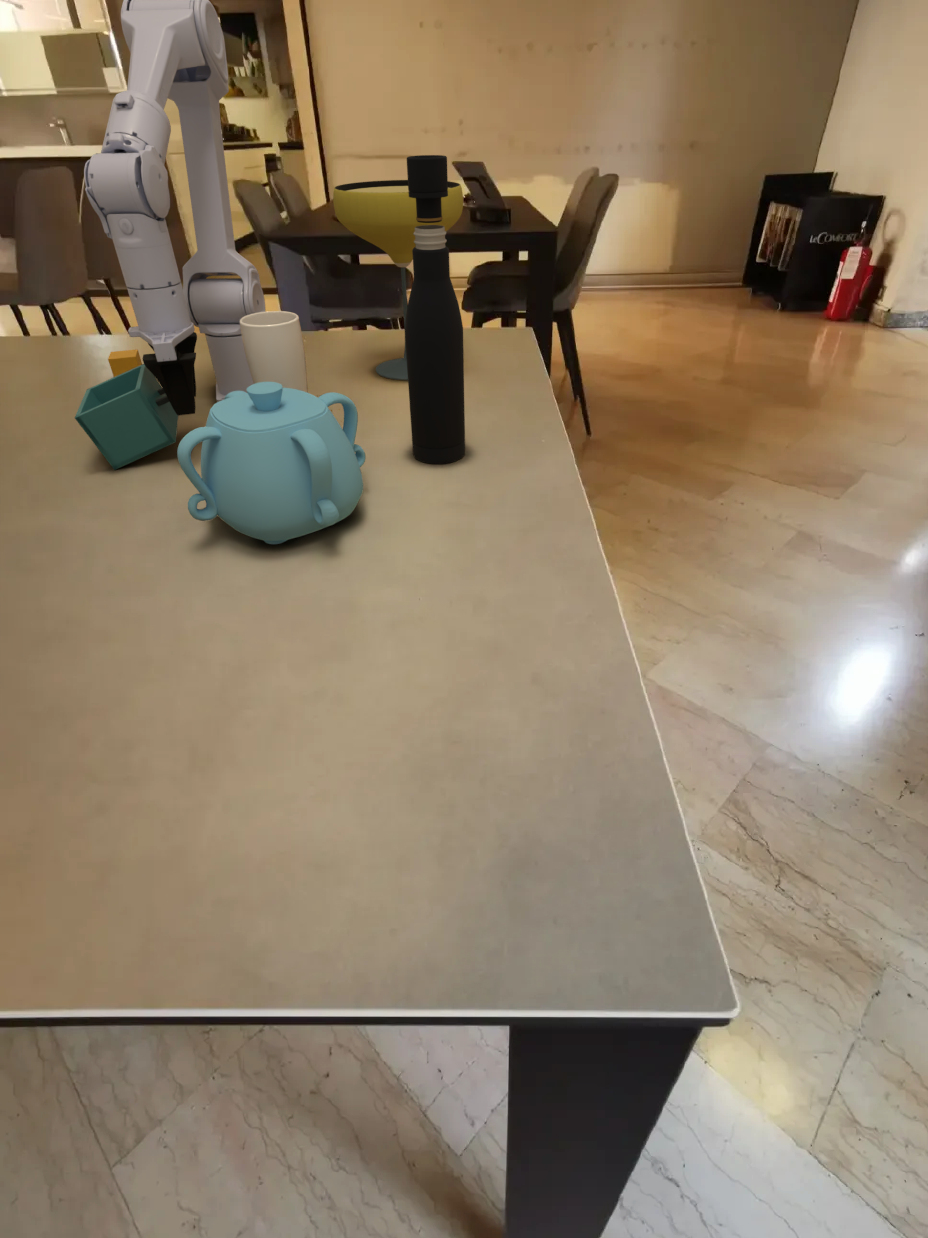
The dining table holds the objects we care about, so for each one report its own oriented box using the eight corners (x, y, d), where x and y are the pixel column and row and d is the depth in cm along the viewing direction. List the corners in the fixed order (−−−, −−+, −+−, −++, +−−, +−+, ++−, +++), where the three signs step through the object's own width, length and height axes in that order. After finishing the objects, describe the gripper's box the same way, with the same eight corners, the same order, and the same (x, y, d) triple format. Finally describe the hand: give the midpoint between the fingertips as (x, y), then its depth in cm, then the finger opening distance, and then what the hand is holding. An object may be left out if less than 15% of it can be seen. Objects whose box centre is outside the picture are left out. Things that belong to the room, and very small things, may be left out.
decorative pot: (178, 548, 65) (133, 412, 57) (252, 475, 78) (224, 355, 69) (335, 565, 62) (312, 424, 54) (386, 486, 75) (373, 362, 66)
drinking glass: (253, 448, 84) (225, 321, 75) (288, 429, 89) (266, 308, 79) (295, 458, 81) (272, 328, 72) (329, 438, 86) (311, 314, 77)
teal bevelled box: (205, 401, 87) (173, 350, 83) (205, 429, 80) (170, 374, 75) (122, 438, 87) (86, 389, 83) (114, 470, 80) (74, 417, 75)
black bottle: (459, 466, 79) (452, 158, 60) (407, 462, 80) (384, 158, 61) (469, 444, 84) (466, 153, 65) (420, 441, 85) (403, 154, 66)
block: (145, 374, 108) (137, 349, 105) (143, 382, 105) (135, 356, 102) (119, 377, 107) (110, 351, 104) (116, 385, 104) (107, 359, 101)
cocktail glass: (339, 362, 111) (316, 184, 96) (438, 347, 117) (432, 177, 102) (374, 395, 98) (354, 195, 83) (484, 377, 104) (485, 187, 89)
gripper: (122, 274, 79) (156, 389, 87) (107, 301, 68) (148, 430, 76) (184, 269, 80) (212, 383, 89) (180, 295, 69) (212, 422, 78)
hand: (187, 404), depth 82 cm, fingers closed on teal bevelled box, 5 cm apart
